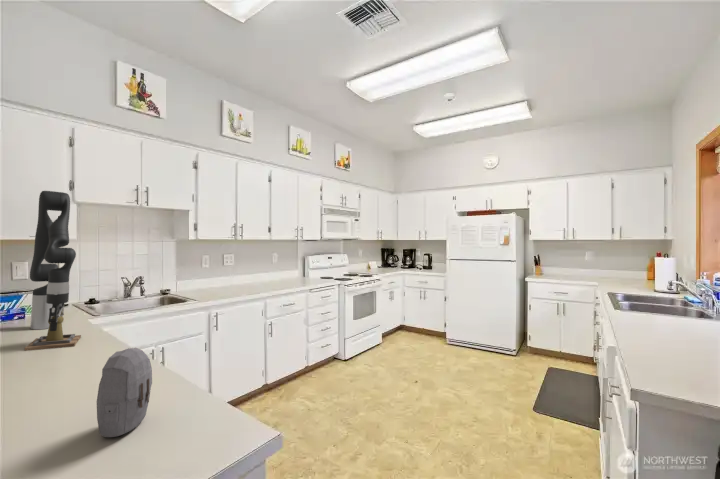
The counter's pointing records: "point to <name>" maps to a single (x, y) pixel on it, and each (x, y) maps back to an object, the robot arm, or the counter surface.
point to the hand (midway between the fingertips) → (55, 328)
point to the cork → (56, 334)
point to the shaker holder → (53, 342)
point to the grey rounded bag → (123, 392)
